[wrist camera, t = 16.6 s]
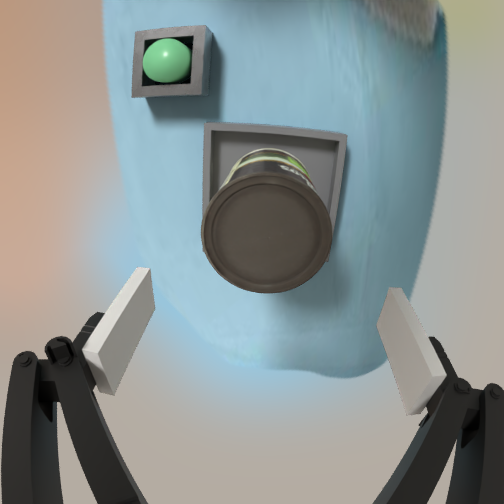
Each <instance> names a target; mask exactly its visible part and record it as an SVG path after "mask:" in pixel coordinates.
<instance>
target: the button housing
mask: <svg viewBox="0 0 504 504" xmlns="http://www.w3.org/2000/svg"><path fill="white" fill-rule="evenodd" d="M212 36H213V33H212V32H211V31H210V29H209V28H208V27H207V26H206V25H200V26H183V27H171V28H161V29H152V30H144V31H137V32H135V43H134V56H133V74H132V98H148V97H167V96H209V81H210V64H211V49H212ZM168 38H169V39H175V40H177V41H179V42H181V43H193V54H192V70H191V84H174V85H156V86H154V84H155V81H154V80H152V79H151V78H149V77H148V76H147V75H146V73H145V71H144V68H143V58H144V55H145V53H146V51H147V49H148V48H149V47H150V46H151V45H152V44H153V43H155V42H157V41H159V40H162V39H168Z"/></svg>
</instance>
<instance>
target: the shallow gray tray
mask: <svg viewBox="0 0 504 504" xmlns="http://www.w3.org/2000/svg"><path fill="white" fill-rule="evenodd" d="M346 143H347V135H346V134H343V133H339V132H332V131H325V130H317V129H308V128H299V127H289V126H278V125H266V124H251V123H231V122H207V123H204V148H203V216H204V213H205V210H206V208H207V206H208V204H209V202H210V201H211V199H212V198H213V197H214V195H215V194H216V193H217V192H218V191H219V189H220V188H221V186H222V185H223V183H224V181H225V180H226V178H227V177H228V175H229V173H230V171H231V169H232V168H233V166H234V165H235V164H236V162H237V161H238V160H239V159H240V158H242V157H243V156H244V155H246V154H248V153H250V152H252V151H255V150H258V149H263V148H275V149H280V150H283V151H286V152H288V153H290V154H292V155H293V156H295V157H296V158H297V159H299V160H300V161H301V162H302V164H303V165H304V166H305V168H306V169H307V171H308V173H309V176H310V179H311V181H312V183H313V185H314V187H315V189H316V191H317V193H318V195H319V197H320V198H321V200H322V201H323V203H324V205H325V206H326V209H327V211H328V213H329V216H330V219H331V223H332V238H333V232H334V226H335V220H336V214H337V208H338V202H339V195H340V188H341V181H342V174H343V167H344V159H345V151H346ZM330 249H331V248H330ZM203 252H204V249H203ZM329 254H330V251H329ZM329 254H328V257H327V259H326V261H325V262H328V260H329Z"/></svg>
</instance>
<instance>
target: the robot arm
mask: <svg viewBox="0 0 504 504" xmlns="http://www.w3.org/2000/svg"><path fill="white" fill-rule="evenodd" d="M154 310H155V304H154V295H153V288H152V280H151V271H150V268H142V267H137V269H136V270H135V271H134V273H133V274H132V275H131V277H130V278H129V280H128V281H127V283H126V284H125V285H124V287H123V288H122V289H121V291H120V292H119V294H118V295H117V297H116V298H115V300H114V301H113V303H112V304H111V306H110V307H109V308H108V310H107V311H106V313H100V312H97V313H95V314H94V315H93V316H91V317H90V318H89V319H88V321H87V322H86V324H85V326H84V327H83V328H82V330H81V332H79V334H78V335H77V337H76V338H75V340H74V341H73V343H72V341H71V340H70V339H69V338H67V337H63V336H60V337H55V338H53V339H51V340H50V341H49V342H48V343H47V344H46V346H45V353H46V355H47V357H48V359H47V360H46V359H44V360H43V359H42V360H41V359H38V358H37V356H36V355H35V353H33V352H31V351H25V352H22V353H20V354H18V355H17V356H16V357H15V359H14V361H13V365H12V370H11V376H10V381H9V387H8V394H7V401H6V409H5V417H4V427H3V441H2V462H1V482H2V483H1V485H2V504H63V497H62V491H61V482H60V472H59V459H58V443H57V402H60V403H61V407H62V410H63V414H64V417H65V421H66V424H67V427H68V430H69V433H70V436H71V439H72V442H73V445H74V448H75V451H76V453H77V456H78V459H79V461H80V464H81V466H82V469H83V471H84V474H85V476H86V479H87V481H88V483H89V485H90V488H91V490H92V492H93V494H94V497H95V499H96V501H97V503H98V504H148V503H147V501H146V500H145V498H144V496H143V494H142V493H141V491H140V489H139V488H138V486H137V484H136V482H135V481H134V479H133V477H132V475H131V473H130V471H129V469H128V468H127V466H126V464H125V462H124V460H123V458H122V456H121V454H120V452H119V450H118V448H117V446H116V443H115V441H114V439H113V437H112V435H111V433H110V431H109V428H108V426H107V424H106V422H105V419H104V417H103V414H102V412H101V410H100V407H99V405H98V402H97V399H96V397H95V394H94V392H93V389H94V387H95V385H97V387H98V390H99V391H100V392H102V393H106V394H110V395H115V392H116V390H117V388H118V386H119V384H120V381H121V379H122V377H123V375H124V373H125V371H126V368H127V366H128V364H129V362H130V360H131V358H132V356H133V353H134V351H135V349H136V347H137V345H138V343H139V341H140V339H141V337H142V335H143V333H144V330H145V328H146V326H147V325H148V322H149V320H150V318H151V316H152V314H153V312H154ZM376 327H377V329H378V332H379V335H380V337H381V340H382V343H383V345H384V348H385V351H386V354H387V357H388V360H389V362H390V365H391V368H392V371H393V374H394V377H395V380H396V383H397V386H398V389H399V392H400V395H401V398H402V402H403V405H404V408H405V412H406V415H414V414H421V412H422V411H423V409H424V408H425V407H427V410H428V413H427V415H426V416H425V417H424V419H423V420H422V421H421V422H420V424H419V426H420V428H419V429H418V431H417V433H416V435H415V437H414V439H413V441H412V442H411V444H410V446H409V448H408V450H407V451H406V453H405V455H404V456H403V458H402V460H401V461H400V463H399V465H398V466H397V468H396V470H395V471H394V473H393V475H392V476H391V478H390V479H389V481H388V482H387V484H386V485H385V487H384V488H383V490H382V491H381V493H380V494H379V495H378V497H377V498H376V500H375V501H374V502H373V504H427V502H428V500H429V498H430V497H431V495H432V493H433V491H434V489H435V487H436V485H437V482H438V481H439V479H440V477H441V474H442V472H443V470H444V468H445V466H446V463H447V461H448V459H449V457H450V454H451V452H452V449H453V447H454V444H455V442H456V439H457V443H456V451H455V458H454V464H453V470H452V476H451V481H450V487H449V491H448V496H447V500H446V504H504V390H503V389H502V388H501V387H500V386H499V385H497V384H493V383H490V384H488V385H487V386H486V387H485V389H484V390H479V389H473V388H471V385H470V384H469V383H468V382H467V381H466V380H464V379H462V378H458V376H457V374H456V372H455V370H454V368H453V366H452V364H451V362H450V360H449V359H448V358H447V355H446V353H445V352H444V349H443V347H442V345H441V343H440V342H439V341H438V340H437V339H436V338H435V337H428V336H427V334H426V332H425V330H424V328H423V326H422V325H421V323H420V321H419V319H418V317H417V315H416V313H415V312H414V310H413V308H412V306H411V304H410V303H409V301H408V299H407V297H406V296H405V294H404V292H403V290H402V289H401V288H394V287H389V290H388V293H387V296H386V299H385V302H384V305H383V308H382V311H381V313H380V316H379V319H378V322H377V325H376Z"/></svg>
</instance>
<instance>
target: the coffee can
mask: <svg viewBox="0 0 504 504" xmlns="http://www.w3.org/2000/svg"><path fill="white" fill-rule="evenodd" d="M201 239H202V245H203V249H204V252H205V254H206V256H207V259H208V260H209V262H210V264H211V265H212V267H213V268H214V269H215V270H216V272H217V273H218V274H219V275H220V276H222V277H223V278H224V279H225V280H227V281H228V282H229V283H231V284H233V285H235V286H237V287H239V288H241V289H244V290H247V291H251V292H257V293H279V292H284V291H288V290H291V289H294V288H296V287H298V286H300V285H302V284H303V283H305V282H306V281H308V280H309V279H310V278H312V277H313V276H314V275H315V274H316V273H317V272H318V271H319V270H320V268H321V267H322V266H323V264H324V263H325V261H326V259H327V257H328V254H329V251H330V248H331V243H332V223H331V219H330V216H329V213H328V211H327V209H326V206H325V205H324V203H323V201H322V200H321V198H320V197H319V195H318V193H317V191H316V189H315V187H314V185H313V183H312V181H311V179H310V176H309V173H308V171H307V169H306V168H305V166H304V165H303V164H302V162H301V161H300V160H299V159H297V158H296V157H295V156H293V155H292V154H290V153H288V152H286V151H283V150H280V149H275V148H263V149H258V150H255V151H252V152H250V153H248V154H246V155H244V156H243V157H242V158H240V159H239V160H238V161H237V162H236V164H235V165H234V166H233V168H232V169H231V171H230V173H229V175H228V177H227V178H226V180H225V181H224V183H223V185H222V186H221V188H220V189H219V191H218V192H217V193H216V194H215V195H214V197H213V198H212V199H211V201H210V202H209V204H208V206H207V208H206V210H205V213H204V216H203V219H202V225H201Z"/></svg>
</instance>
